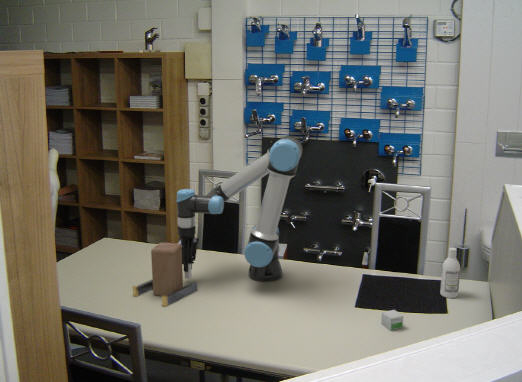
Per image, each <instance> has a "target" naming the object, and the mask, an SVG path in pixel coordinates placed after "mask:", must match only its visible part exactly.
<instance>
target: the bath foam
mask: <svg viewBox="0 0 522 382" xmlns="http://www.w3.org/2000/svg"><path fill="white" fill-rule="evenodd" d="M447 255H448V257H447V258H446V259H445V260H444V261H443V263H442V266H441V279H440V289H439V290H440V291H439V292H440V295H441V296H442V297H444V298H448V299H455V298H457V297H459V290H460V289H459V288H460V278H461V277H460V276H461V265H460V261H458V259H457V248H456V247H449V248H448V254H447Z"/></svg>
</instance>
